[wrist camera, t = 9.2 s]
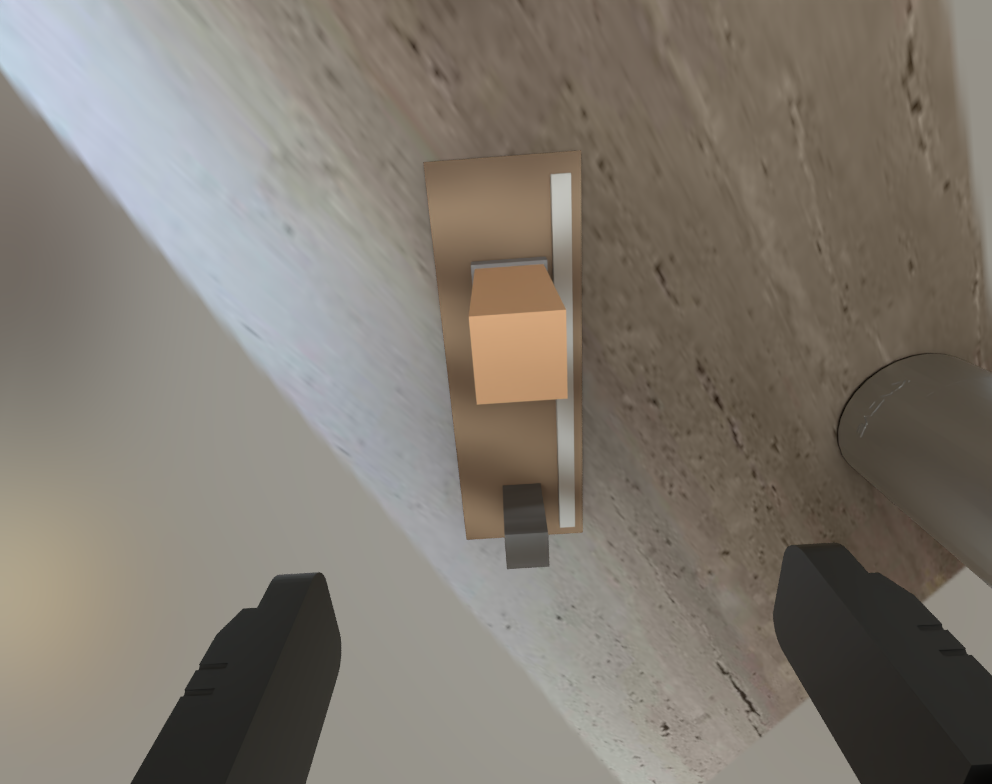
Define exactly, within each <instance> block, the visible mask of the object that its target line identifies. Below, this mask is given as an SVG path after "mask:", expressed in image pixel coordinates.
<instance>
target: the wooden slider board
mask: <svg viewBox="0 0 992 784" xmlns="http://www.w3.org/2000/svg"><path fill="white" fill-rule="evenodd" d="M423 163H424V171H425V180H426V189H427V198H428V206H429V215H430V224H431V232H432V241H433V250H434V259H435V267H436V276H437V285H438V294H439V302H440V311H441V320H442V328H443V337H444V346H445V355H446V363H447V372H448V381H449V389H450V398H451V407H452V416H453V424H454V433H455V442H456V451H457V459H458V468H459V477H460V485H461V494H462V503H463V512H464V520H465V529H466V538H467V540H470V539H486V538H502V537H505V549H506V562H507V569H516V568H532V567H548V566H549V543H548V535H550V534H566V533H582V532H583V515H582V256H581V150H580V151H565V152H552V153H539V154H526V155H513V156H500V157H486V158H473V159H460V160H447V161H434V162H423ZM531 257H546V258H547V267H548V274H549V276H550V278H551V280H552V282H553V284H554V286H555V288H556V290H557V292H558V294H559V296H560V298H561V300H562V302H563V304H564V306H565V308H566V327H567V390H568V399H553V400H538V401H523V402H509V403H494V404H479V405H477V401H476V391H475V380H474V369H473V358H472V348H471V337H470V326H469V310H470V302H471V294H472V287H473V286H472V275H471V262H476V261H490V260H504V259H517V258H531Z"/></svg>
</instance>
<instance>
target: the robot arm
mask: <svg viewBox="0 0 992 784" xmlns="http://www.w3.org/2000/svg"><path fill="white" fill-rule="evenodd" d="M838 439H839V446H840V449H841V453H842V455H843V457H844V458H845V459H846V461H847V462H848V464H849V465H850V466H852V467H853V468H854V469H855V470H856V471H857V472H858V473H860V474H861V475H862V476H863V477H864V478H865V479H866V480H868V481H869V482H870V483H871V484H872V485H873V486H874V487H876V488H877V489H878V490H879V491H880V492H881V493H883V494H884V495H885V496H886V497H887V498H888V499H889V500H890V501H891V502H892V503H894V504H895V505H896V506H897V507H898V508H899V509H901V510H902V511H903V512H904V513H905V514H906V515H907V516H909V517H910V518H911V519H912V520H913V521H914V522H916V523H917V524H918V525H919V526H920V527H921V528H923V529H924V530H925V531H926V532H927V533H928V534H930V535H931V536H932V537H933V538H934V539H935V540H936V541H938V542H939V543H940V544H941V545H942V546H943V547H945V548H946V549H947V550H948V551H949V552H950V553H952V554H953V555H954V556H955V557H956V558H957V559H958V560H960V561H961V562H962V563H963V564H964V565H965V566H967V567H968V568H969V569H970V570H971V571H972V572H974V573H975V574H976V575H977V576H978V577H979V578H981V579H982V580H983V581H984V582H985V583H987V585H989V586H990V587H991V588H992V372H990V371H987V370H985V369H983V368H980V367H978V366H976V365H973V364H971V363H969V362H967V361H964V360H962V359H960V358H957V357H953V356H949V355H946V354H923V355H917V356H912V357H909V358H906V359H903V360H900V361H897V362H895V363H893V364H891V365H889V366H887V367H886V368H884V369H882V370H880V371H879V372H878V373H876V374H875V375H874V376H872V377H871V378H870V379H868V380H867V381H866V382H865V383H864V384H863V385H862V386H861V387H860V388H859V389H858V390H857V391H856V393H855V394H854V395H853V397H852V398H851V400H850V401H849V403H848V404H847V406H846V408H845V410H844V413H843V415H842V417H841V421H840V425H839V430H838ZM773 620H774V628H775V632H776V636H777V639H778V642H779V644H780V647H781V649H782V651H783V652H784V654H785V656H786V658H787V659H788V661H789V663H790V664H791V666H792V668H793V669H794V671H795V673H796V675H797V676H798V678H799V680H800V681H801V683H802V685H803V686H804V688H805V690H806V692H807V693H808V695H809V697H810V698H811V700H812V702H813V703H814V705H815V707H816V708H817V710H818V712H819V714H820V715H821V717H822V719H823V720H824V722H825V724H826V725H827V727H828V729H829V731H830V732H831V734H832V736H833V737H834V739H835V741H836V742H837V744H838V746H839V748H840V749H841V751H842V753H843V754H844V756H845V758H846V759H847V761H848V763H849V764H850V766H851V768H852V770H853V771H854V773H855V774H856V776H857V778H858V780H859V781H860V783H861V784H992V675H991V674H990V673H989V672H988V671H987V670H986V669H985V668H984V667H983V666H982V665H981V664H980V663H979V662H978V661H977V660H976V659H975V658H974V657H973V656H972V655H968V654H967V653H966V650H965V647H964V646H963V645H962V644H961V643H960V642H959V641H958V640H957V639H956V638H955V637H954V636H953V635H952V634H951V633H950V632H949V631H948V630H944V629H943V628H942V624H941V623H940V621H939V620H938V619H937V618H936V617H935V616H934V615H932V613H931V612H930V611H929V610H928V609H927V608H926V607H925V606H924V605H923V604H922V603H921V602H920V601H919V600H918V599H917V598H916V597H915V596H914V595H913V594H911V593H910V592H908V591H907V590H905V589H904V588H902V587H900V586H899V585H897V584H896V583H894V582H893V581H891V580H890V579H888V578H886V577H885V576H883V575H882V574H880V573H868V572H867V571H866V570H865V569H864V567H863V566H862V565H861V564H860V563H859V562H858V561H857V560H856V559H855V558H854V556H853V555H852V554H851V553H850V552H849V551H848V550H847V549H846V548H845V547H844V546H842V545H841V544H839V543H820V544H803V545H791V546H789V547H787V549H786V550H785V553H784V557H783V562H782V567H781V573H780V578H779V584H778V589H777V594H776V600H775V605H774V611H773ZM340 661H341V637H340V632H339V629H338V625H337V621H336V617H335V613H334V609H333V606H332V601H331V598H330V594H329V590H328V586H327V582H326V579H325V577H324V575H323V574H322V573H320V572H319V573H303V574H285V575H277V576H276V577H274V579H272V581H271V583H270V585H269V586H268V588H267V590H266V592H265V594H264V596H263V598H262V600H261V602H260V604H259V606H258V607H257V608H247V609H242V610H241V611H240V612H239V613H238V614H237V615H236V616H235V617H234V618H233V619H232V620H231V621H230V622H229V623H228V624H227V625H226V626H225V627H224V628H223V629H222V630H221V631H220V632H219V633H218V634H217V635H216V637H215V638H214V640H213V642H212V643H211V645H210V647H209V649H208V651H207V652H206V654H205V656H204V657H203V659H202V661H201V663H200V664H199V665H200V668H199V670H196V671H195V673H194V675H193V676H192V678H191V680H190V682H189V683H188V685H187V687H186V688H185V694H184V696H183V697H180V699H179V701H178V702H177V704H176V706H175V708H174V709H173V711H172V713H171V715H170V716H169V718H168V720H167V721H166V723H165V725H164V727H163V728H162V730H161V732H160V733H159V735H158V737H157V739H156V740H155V742H154V744H153V746H152V748H151V749H150V751H149V753H148V754H147V756H146V758H145V759H144V761H143V763H142V765H141V766H140V768H139V770H138V772H137V773H136V775H135V777H134V779H133V780H132V782H131V784H306V780H307V777H308V774H309V770H310V767H311V764H312V760H313V757H314V753H315V750H316V747H317V743H318V740H319V737H320V733H321V730H322V727H323V723H324V720H325V717H326V713H327V710H328V706H329V703H330V700H331V696H332V693H333V690H334V686H335V683H336V680H337V676H338V672H339V668H340Z"/></svg>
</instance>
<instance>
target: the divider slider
mask: <svg viewBox="0 0 992 784" xmlns="http://www.w3.org/2000/svg"><path fill="white" fill-rule="evenodd" d="M471 275H472V286H473V287H472V294H471V302H470V310H469V326H470V337H471V348H472V358H473V369H474V380H475V391H476V401H477V405H479V404H494V403H509V402H523V401H538V400H553V399H568V390H567V327H566V308H565V306H564V304H563V302H562V300H561V298H560V296H559V294H558V292H557V290H556V288H555V286H554V284H553V282H552V280H551V278H550V276H549V274H548V267H547V258H546V257H531V258H517V259H504V260H490V261H476V262H471Z"/></svg>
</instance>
